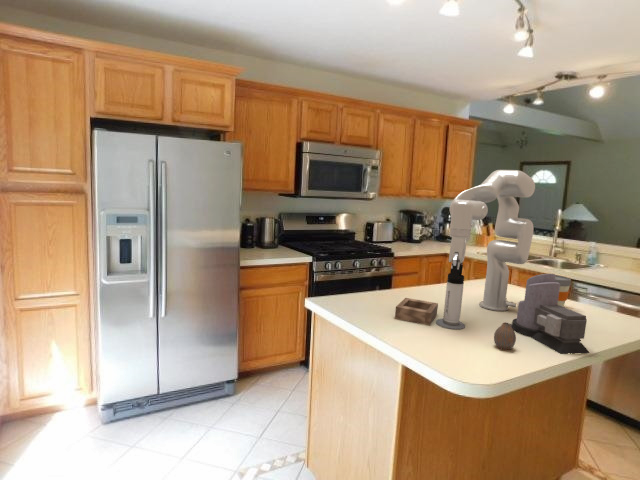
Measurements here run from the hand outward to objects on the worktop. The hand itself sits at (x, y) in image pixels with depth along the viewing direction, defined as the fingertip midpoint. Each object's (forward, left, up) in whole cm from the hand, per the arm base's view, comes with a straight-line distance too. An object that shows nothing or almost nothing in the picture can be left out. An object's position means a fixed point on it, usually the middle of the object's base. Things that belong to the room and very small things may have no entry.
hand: (456, 276), depth 161 cm
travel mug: (0, 0, -19) cm, 19 cm away
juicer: (-33, -6, -20) cm, 39 cm away
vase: (-20, +15, -20) cm, 32 cm away
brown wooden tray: (+14, -1, -20) cm, 24 cm away
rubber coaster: (0, +1, -20) cm, 20 cm away
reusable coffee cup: (-39, -54, -20) cm, 70 cm away
